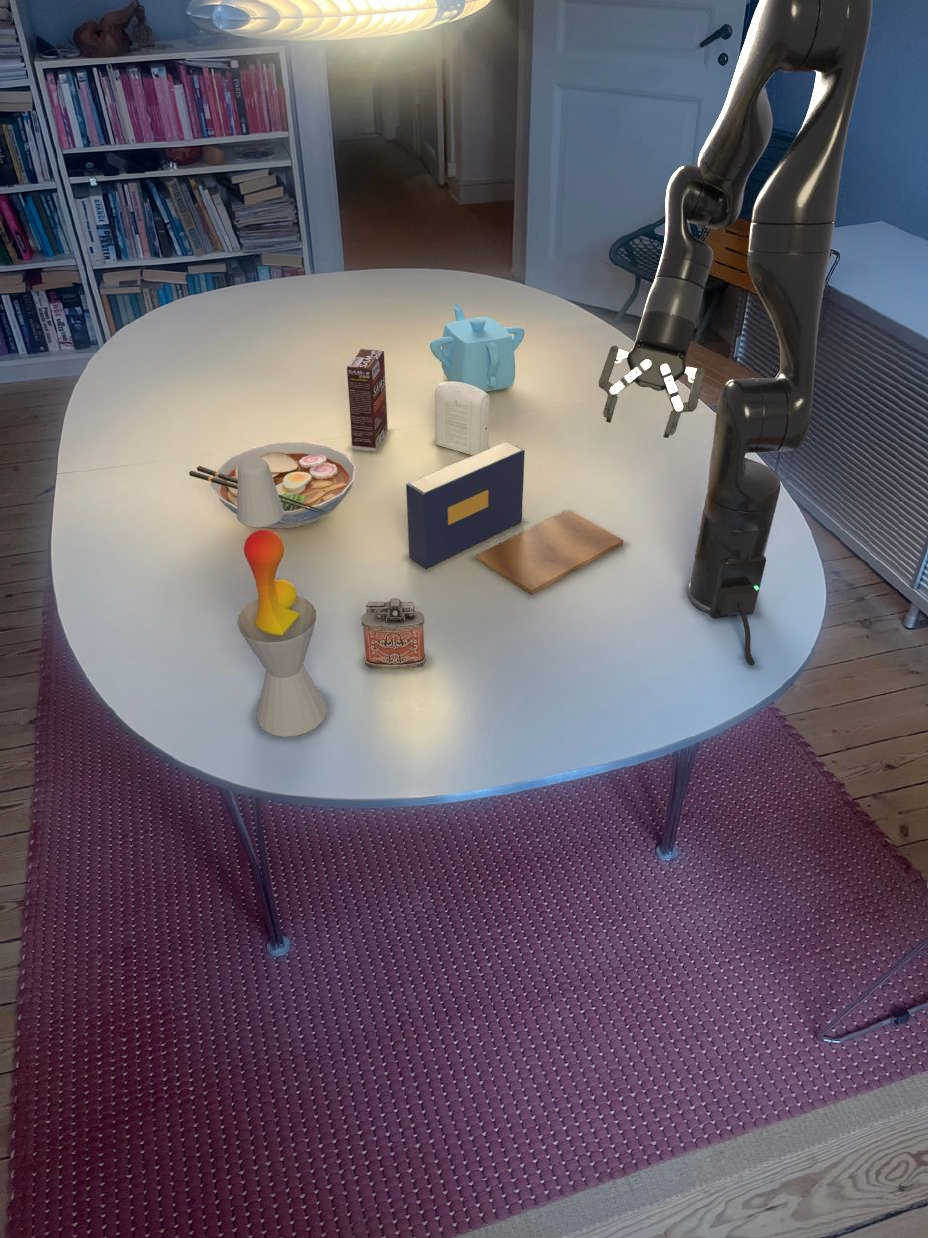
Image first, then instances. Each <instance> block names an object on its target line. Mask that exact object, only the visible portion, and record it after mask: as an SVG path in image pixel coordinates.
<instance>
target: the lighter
mask: <svg viewBox="0 0 928 1238" xmlns="http://www.w3.org/2000/svg"><path fill="white" fill-rule="evenodd" d="M360 620H361V626H362V627H363V637H364V638H363V639H364V651H365V655H364V665H365V666H366V668H367V669H371V670H377V671H378V670H379V671H404V670H405V671H406V670H413V669H419V668H422V667H424V666H425V665H426V662H427V656H426V653H425V638H424V637H425V636H424V635H425V633H424V624H425V614H424V613H423V612H422V611H419V610H415V602H414V601H412V600H407V601H406V600H404V601H402V600H401V599H400V598H397V597H393V598H391V599H390V600H389V601H385V600H379V601H378V600H376V601H375V600H374V601H373V600H371V601H367V602H366V603H365V612H364V613H363V614H362V615H361V618H360Z"/></svg>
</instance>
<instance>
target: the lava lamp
mask: <svg viewBox="0 0 928 1238" xmlns="http://www.w3.org/2000/svg"><path fill="white" fill-rule="evenodd" d="M283 516H284V510H283V507H282V504H281V501H280V498H279V495H278V492H277V489H276V486H275V483H274V480H273V477H272V474H271V471H270V468H269V465H268V463H267V462H266V461H265V460H264V459H261V458H256V457H255V458H248V459H245V460H243V461H242V462H240V464H239V465H238V489H237V515H236V518H237V520H238V522H239V524H241V525H243V526H246V527H249V528H261V529H257V530H255V531H252V532H251V533H250V534H249V535H248V536H247V537H246V539H245V541H244V544H243V554H244V556H245V559H246V561H247V563H248V566H249V567H250V570H251V572H252V575H253V578H254V581H255V586H256V590H257V599H256V600H254V601H252V602H250V603H249V604H247V605H246V606H245V607H244V608H242V610H241V611H240V613H239V615H238V616H237V623H236V624H237V627H238V630H239V632H240V634H241V636H242V637H243V639H244V640H245V642H246V643H247V645H248V646H249V647H250V649H251V650H252V652H253V653H254V654H255V656H256V657H257V659H258V660H259V662H260V663H261V665H262V666H263V668H264V669H265V674H264V679H263V683H262V688H261V693H260V696H259V700H258V701H259V702H258V705H257V706H258V707H257V712H256V720H257V723H258V725H259V726H260V727H261V729H263V731H265V732H266V733H269V734H271V735H273V736H277V737H283V738H286V737H297V736H300V735H304V734H307V733H309V732H311V731H313V730H314V729H317V727H318V726H319V725H320V724H321V723H322V722H323V721H324V719H325V718H326V715H327V704H326V702H325V699H324V697H323V696H322V694H321V692H320V690H319V689H318V687H317V686H316V684H315V682H314V681H313V678H312V676H311V675H310V673H309V672H308V669H307V668H306V667H305V665H304V662H305V659H306V656H307V653H308V650H309V649H308V648H309V645H310V642H311V638H312V635H313V632H314V628H315V626H316V620H317V610H316V609H315V607H314V604H312V602H310V601H309V600H307V599H306V598H304V597H300V596H299V595H298V592H297V589H296V587H295V585H294V584H293V583H292V582H290V581H289V580H286V579H282V578H281V579H276V575H277V573H278V572H277V571H278V568H279V565H280V563H281V562H282V560H283V558H284V555H285V543H284V541H283V539H282V537H281V536H280V535H279V534H278V533H276V532H275V531H273V530H271V529H266V528H264V527H266V526H269V525H272V524H274V523H276V522H278V521H279V520H280V519H281V518H282V517H283ZM262 528H263V529H262Z"/></svg>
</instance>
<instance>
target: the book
mask: <svg viewBox="0 0 928 1238" xmlns="http://www.w3.org/2000/svg"><path fill="white" fill-rule="evenodd" d="M525 452H526V450H525V449H523V448H521V447H519V446H518V445H515V444H514V443H511V442H509V441H504V442H502V443H500V444H497V445H495V446H492V447H490V448H488V450H485V451H483V452H481V453H478V454H476V455H470V456H468V457H467V458H464V459H461V460H459V461H457V462H455V463H452V464H450V465H448V466H445V467H443V468H440V469H438V470H436V471H434V472H431V473H429V474H427V475H424V476H422V477H419V478H417V479H415V480H412V481H410V482H407V483H406V484H405V489H406V490H405V491H406V513H407V514H406V515H407V516H406V517H407V532H408V533H407V535H408V537H407V538H408V558H409V559H410V560H411V561H413V562H414V563H416V564H417V565H419V566H420V567H422V568H423V569H425V570H427V569H430V568H432V567H433V566H436V565H437V564H440V563H441V562H444V561H447V559H450V558H452V557H454V556H456V555H458V554H460V553H462V552H464V551H466V550H468V549H470V548H472V547H475V546H476V545H478V544H481V543H483V542H485V541H487V540H489V539H491V538H493V537H495V536H497V535H499V534H501V533H504V532H505V531H508V530H509V529H511V528H513V527H515V526H517V525H519V524H522V522H523V502H524V501H523V500H524V479H525V478H524V477H525V476H524V475H525V455H526V453H525Z"/></svg>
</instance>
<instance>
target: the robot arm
mask: <svg viewBox="0 0 928 1238" xmlns="http://www.w3.org/2000/svg"><path fill="white" fill-rule="evenodd" d="M872 17H873V0H759V2H758V3H757V7H756V8H755V11H754V14H753V16H752V19H751V22H750V25H749V28H748V31H747V34H746V37H745V40H744V44H743V46H742V49H741V52H740V55H739V58H738V61H737V64H736V68H735V71H734V73H733V77H732V81H731V84H730V87H729V90H728V94H727V97H726V99H725V102H724V105H723V107H722V110H721V112H720V114H719V117H718V118H717V120H716V122H715V124H714V126H713V127H712V129H711V131H710V133H709V135H708V137H707V139H706V141H705V143H704V145H703V146H702V148H701V150H700V153H699V156H698V160H697V165H695V164H690V163H689V164H688V163H687V164H684V165H682V166H680V167H679V168H678V169H677V170H676V171H675V172H674V173H673V174H672V175H671V177H670V179H669V182H668V184H667V188H666V193H665V194H666V195H665V229H664V230H665V232H664V242H663V248H662V253H661V256H660V260H659V264H658V267H657V270H656V273H655V277H654V281H653V283H652V285H651V288H650V290H649V292H648V295H647V298H646V301H645V305H644V307H643V311H642V312H643V313H642V316H641V319H640V323H639V327H638V330H637V333H636V337H635V341H634V343H633V347H632V348H631V350H629V351H627V350H624V349H621V348H619V347H618V346H617V345H612V346H611V347H610V348H609V351H608V353H607V357H606V360H605V363H604V366H603V369H602V371H601V374H600V377H599V379H598V387H599V388H600V389H602V390H603V391H604V392H606V394H607V398H606V401H605V405H604V408H603V412H602V414H603V415H602V416H603V418H606V419H605V423H608V424H611V422H612V419H613V415H614V412H615V410H616V405H617V401H618V398H619V397H618V395H619V394H620V393H621V392H623V391H624V390H625V389H627V388H628V387H630V386H631V385H632V384H633V383H635V384H636V385H638V387H641V388H650V389H652V390H654V391H657V392H660V391H661V392H662V391H665V393H666V395H667V398H668V400H669V403H670V405H671V408H672V409H671V411H670V412H669V416H668V419H667V422H666V426H665V428H664V433H663V436H662V437H663V438H665V439H669V437H670V436H673V435H674V434H675V432H676V431H677V429H678V428H677V427H678V424H679V421H680V418H681V415H682V413H689V412H690V413H691V412H694V411H695V410H696V409H697V408H698V403H699V400H700V394H701V390H702V388H703V387H702V385H703V382H704V378H705V373H706V371H705V370H706V369H705V368H703V367H698V368H697V367H692V366H687V365H686V364H687V363H686V358H687V355H688V353H689V352H688V351H689V348H690V345H691V341H692V338H693V335H694V331H695V328H696V325H697V322H698V319H699V314H700V311H701V308H702V302H703V295H704V292H705V288H706V284H707V281H708V278H709V274H710V271H711V268H712V264H713V260H714V250H713V248H712V247H711V246H710V245H709V244H708V243H706V242H704V241H703V240H702V239H699V238H697V237H696V236H695V235H693V234H692V233H691V231H690V230H689V226H688V223H690V224H694V225H697V226H700V227H703V228H707V229H710V230H715V231H722V230H725V229H727V228H729V227H731V226H732V225H734V223H735V222H736V221H737V219H738V218H739V216H740V213H741V211H742V207H743V203H744V197H745V190H746V185H747V182H748V179H749V177H750V176H751V173H752V172H753V170H754V168H755V167H756V165H757V163H758V162H759V161H760V158H761V157H762V155H763V154H764V152H765V151H766V148H767V147H768V145H769V142H770V140H771V137H772V131H773V124H774V121H773V112H772V108H771V107H772V106H771V104H770V99H769V97H768V91H767V84H768V82H769V81H770V79H772V77H773V76H774V75H775V74H776V73H778V72H780V73H816V75H815V80H814V87H813V91H812V96H811V99H810V103H809V106H808V108H807V109H808V110H807V113H806V116H805V118H804V121H803V122H802V125H801V126H800V128H799V130H798V132H797V134H796V136H795V138H794V139H793V141H792V143H791V144H790V146H788V149H787V150H786V152H784V155H782V157H781V159H780V160H779V161H778V163H777V164H776V166H775V168H774V169H773V170H772V172H771V173H770V174H769V176H768V178H767V179H766V181H765V182H764V184H763V185H762V187H761V189H760V190H759V193H758V194H757V196H756V198H755V201H754V204H753V208H752V212H751V218H750V220H751V222H750V229H749V239H748V248H747V257H746V266H747V270H748V274H749V276H750V277H749V278H750V279H751V283H752V285H753V286H754V289H755V292H756V293H757V295H758V297H759V299H760V301H761V303H762V305H763V307H764V309H765V311H766V313H767V314H768V316H769V319H770V321H771V323H772V326H773V328H774V331H775V334H776V337H777V341H778V347H779V348H778V349H779V371H778V377H773V376H772V377H748V378H747V377H741V378H733V379H730V380H728V381H727V382H726V383H725V384H724V386H723V387H722V389H721V391H720V394H719V396H718V400H717V406H716V413H715V422H714V429H713V439H712V440H713V441H712V447H711V452H710V458H709V459H710V461H709V470H708V471H709V472H708V482H707V488H706V493H705V499H704V504H703V509H702V515H701V520H700V526H699V532H698V536H697V542H696V548H695V553H694V559H693V565H692V569H691V570H692V571H691V577H690V580H689V584H688V589H687V597H688V599H689V601H690V602H691V604H692V605H694V607H696V608H697V609H699V610H701V611H702V612H705V613H707V614H709V615H710V616H711V618H712V619H723V618H729V617H730V618H731V617H739V616H740V617H741V621H742V625H743V630H744V651H745V652H744V653H745V657H746V660H747V662H748V664H749V665H750V666H753V665H755V664H756V662H755V659H754V657H753V655H752V651H751V645H752V644H751V642H752V640H751V639H752V635H751V628H750V623H749V619H748V615H753V614H755V610H756V605H757V601H758V597H759V594H760V590H761V585H762V580H763V577H764V572H765V567H766V563H767V557H766V556H765V555H766V551H767V547H768V541H769V538H770V534H771V530H772V526H773V521H774V517H775V512H776V508H777V504H778V500H779V496H780V492H781V487H782V486H781V479H780V477H779V476H778V474H777V473H776V472H775V471H774V470H773V469H772V468H771V467H769V466H767V465H765V464H763V463H760V462H758V461H755V460H752V459H749V458H747V457H746V454H757V453H758V454H759V453H778V452H779V453H780V452H781V453H783V452H794V451H796V450H798V449H799V448H801V446H802V445H804V442H805V441H806V438H807V436H808V433H809V429H810V425H811V420H812V413H813V412H812V411H813V402H814V391H815V390H814V389H815V375H816V362H817V361H816V359H817V348H818V347H817V345H818V333H819V326H820V319H821V310H822V304H823V297H824V291H825V285H826V277H827V273H828V268H829V261H830V255H831V250H832V244H833V238H834V230H835V221H836V215H837V207H838V197H839V188H840V181H841V175H842V167H843V161H844V154H845V150H846V149H845V148H846V142H847V137H848V132H849V126H850V122H851V117H852V113H853V110H854V109H853V108H854V104H855V99H856V95H857V90H858V87H859V86H858V85H859V82H860V78H861V73H862V68H863V64H864V61H865V60H864V59H865V56H866V51H867V46H868V41H869V37H870V31H871V24H872ZM623 360H626V362H627V365H628V368H629V372H628V373H627V374H625V375H624V376H623V377H622V378H620V379H619V380H618V381H617V382H615V383H614V384H613V383H611V382H610V381H609V380H610V378H611V375H612V373H613V369H614V367H615V365H620V364H621V363H622V361H623ZM684 375H686V376H687V382H688V383H689V384H691V387H690V391H689V395H688V400H687V401H686V402H683V401H682V399H681V397H680V394H679V391H678V388H677V387H678V386H677V385H676V383H675V382H677V381H678V380H680V378H681V377H683V376H684Z"/></svg>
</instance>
